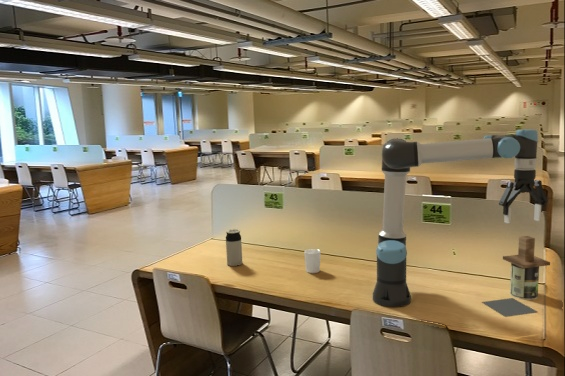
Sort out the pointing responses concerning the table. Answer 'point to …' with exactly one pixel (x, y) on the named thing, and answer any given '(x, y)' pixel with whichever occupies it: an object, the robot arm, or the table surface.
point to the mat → (509, 307)
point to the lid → (526, 254)
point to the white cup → (312, 260)
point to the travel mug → (233, 247)
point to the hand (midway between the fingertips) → (522, 221)
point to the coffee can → (524, 282)
